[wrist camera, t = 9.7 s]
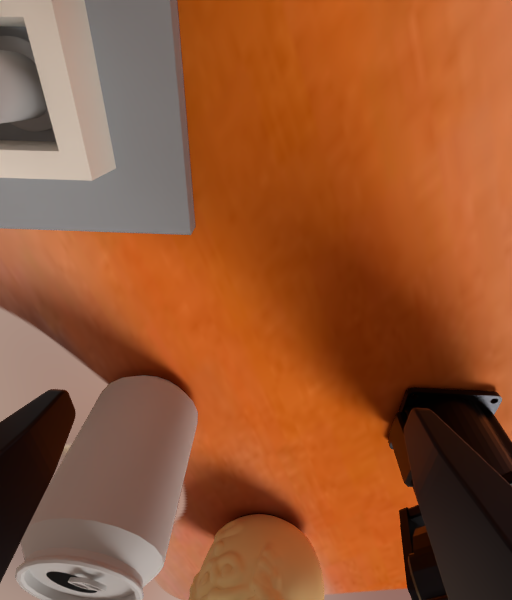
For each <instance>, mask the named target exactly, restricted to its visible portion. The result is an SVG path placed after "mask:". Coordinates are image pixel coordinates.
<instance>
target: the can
mask: <svg viewBox="0 0 512 600" xmlns="http://www.w3.org/2000/svg"><path fill="white" fill-rule="evenodd" d="M197 422H198V412H197V409H196V407H195V405H194V403H193V401H192V400H191V399H190V398H189V397H188V396H187V395H186V393H185V392H184V391H182V390H181V389H180V388H179V387H178V386H177V385H175V384H173V383H172V382H170V381H168V380H165V379H163V378H160V377H157V376H148V375H141V376H131V377H124V378H120V379H118V380H116V381H114V382H111V383H110V384H109V385H108V386H107V387H106V388H105V389H104V390H103V391H102V393H101V394H100V396H99V398H98V400H97V401H96V403H95V405H94V407H93V408H92V410H91V412H90V414H89V415H88V417H87V419H86V421H85V422H84V424H83V426H82V428H81V430H80V432H79V433H78V435H77V437H76V438H75V440H74V442H73V444H72V445H71V447H70V449H69V451H68V452H67V454H66V456H65V458H64V459H63V461H62V463H61V465H60V466H59V468H58V470H57V472H56V473H55V475H54V477H53V479H52V480H51V482H50V484H49V486H48V487H47V489H46V491H45V493H44V495H43V497H42V499H41V501H40V503H39V505H38V508H37V510H36V512H35V514H34V516H33V518H32V520H31V522H30V524H29V526H28V528H27V530H26V532H25V534H24V536H23V538H22V540H21V546H22V551H23V555H24V560H25V561H24V563H23V564H21V565H20V566H19V567H18V568H17V569H16V575H15V578H16V580H17V582H18V583H19V585H20V586H21V588H22V589H24V590H25V591H27V592H28V593H29V594H31V595H32V596H34V597H36V598H39V599H41V600H142V599H143V597H144V595H143V587H144V586H145V585H146V584H147V583H148V582H150V581H151V580H152V579H153V578H154V577H155V576H157V575H158V573H159V572H160V571H161V569H162V568H163V566H164V562H165V558H166V553H167V549H168V545H169V541H170V536H171V532H172V528H173V524H174V519H175V515H176V511H177V507H178V502H179V498H180V494H181V490H182V486H183V481H184V477H185V473H186V469H187V464H188V460H189V456H190V452H191V448H192V443H193V439H194V435H195V431H196V426H197Z"/></svg>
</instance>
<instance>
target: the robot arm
mask: <svg viewBox="0 0 512 600" xmlns="http://www.w3.org/2000/svg"><path fill="white" fill-rule="evenodd" d="M501 402H502V398H501V397H500V395H499V394H498V393H497V392H490V391H470V390H450V389H430V388H410V389H408V390H407V391H406V392H405V395H404V398H403V400H402V403H401V406H400V409H399V411H398V412H397V413H396V415H395V418H394V421H393V424H392V427H391V430H390V432H389V437H390V438H389V441H388V443H389V446H390V448H391V449H394V453H395V456H396V459H397V462H398V465H399V468H400V471H401V475H402V478H403V481H404V483H405V484H406V485H407V486H408V487H413V489H414V492H415V495H416V498H417V501H418V504H419V505H417V506H414V507H411V508H407V507H406V508H404V509H401V510H399V514H400V523H401V524H400V527H401V536H402V545H403V554H404V563H405V572H406V581H407V588H408V591H409V593H410V595H411V598H412V600H512V442H511V440H510V439H509V437H508V436H507V434H506V433H505V431H504V430H503V428H502V427H501V425H500V423H499V422H498V420H497V419H496V417H495V416H494V414H495V412H496V410H497V409H498V407H499V405H500V403H501ZM74 419H75V409H74V406H73V404H72V401H71V398H70V396H69V393H68V392H67V391H66V390H58V389H51V390H48V391H47V392H45V393H44V394H42V395H40V396H39V397H38V398H36V399H35V400H33V401H31V402H30V403H29V404H27V405H25V406H24V407H22V408H21V409H19V410H18V411H16V412H15V413H14V414H12V415H10V416H9V417H7V418H6V419H5V420H3V421H1V422H0V582H1V580H2V578H3V576H4V574H5V572H6V570H7V568H8V566H9V564H10V562H11V560H12V558H13V556H14V554H15V552H16V550H17V548H18V546H19V544H20V542H21V540H22V538H23V536H24V534H25V532H26V530H27V528H28V526H29V524H30V522H31V520H32V518H33V516H34V514H35V512H36V510H37V508H38V505H39V503H40V501H41V499H42V497H43V495H44V493H45V491H46V489H47V487H48V485H49V483H50V481H51V479H52V477H53V474H54V472H55V470H56V467H57V465H58V462H59V459H60V457H61V454H62V451H63V449H64V446H65V443H66V441H67V438H68V436H69V433H70V430H71V428H72V425H73V422H74Z"/></svg>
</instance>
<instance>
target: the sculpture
mask: <svg viewBox="0 0 512 600" xmlns="http://www.w3.org/2000/svg"><path fill="white" fill-rule="evenodd" d="M189 600H324V582H323V575H322V570H321V567H320V563H319V560H318V557H317V555H316V552H315V550H314V548H313V546H312V544H311V543H310V541H309V540H308V538H307V537H306V536H305V535H304V534H303V533H302V532H301V531H300V530H299V529H298V528H297V527H295V526H294V525H292V524H291V523H289V522H287V521H285V520H283V519H280V518H278V517H275V516H271V515H265V514H254V515H248V516H243V517H240V518H237V519H235V520H234V521H231V522H229V523H227V524H226V525H225V526H223V527H222V528H221V529H220V530H219V531H218V532H217V533H216V535H215V538H214V542H213V544H212V546H211V548H210V550H209V552H208V554H207V556H206V558H205V560H204V562H203V565H202V567H201V570H200V572H199V573H198V574H196V576H195V577H194V579H193V584H192V585H191V587H190V597H189Z"/></svg>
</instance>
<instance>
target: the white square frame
mask: <svg viewBox="0 0 512 600" xmlns="http://www.w3.org/2000/svg"><path fill="white" fill-rule="evenodd" d="M0 26H11V27H26V29H27V33H28V37H29V41H30V44H31V48H32V52H33V56H34V59H35V63H36V67H37V71H38V75H39V78H40V82H41V86H42V90H43V93H44V97H45V101H46V105H47V108H48V112H49V116H50V120H51V123H52V127H53V131H54V135H55V139H56V142H50V141H13V140H0V178H24V179H56V180H87V181H93V180H95V179H96V178H98V177H100V176H102V175H104V174H106V173H108V172H110V171H112V170H114V169H116V165H115V160H114V154H113V149H112V144H111V138H110V133H109V128H108V122H107V117H106V112H105V106H104V101H103V96H102V91H101V85H100V80H99V75H98V69H97V64H96V59H95V53H94V48H93V43H92V37H91V32H90V27H89V21H88V16H87V11H86V6H85V0H0Z"/></svg>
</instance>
